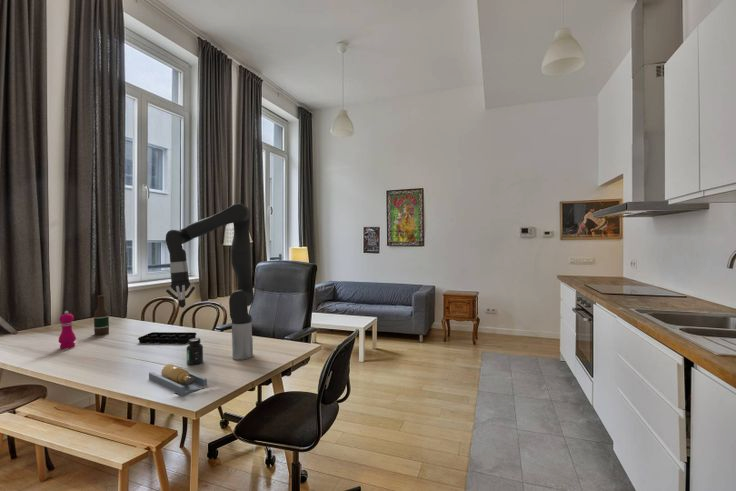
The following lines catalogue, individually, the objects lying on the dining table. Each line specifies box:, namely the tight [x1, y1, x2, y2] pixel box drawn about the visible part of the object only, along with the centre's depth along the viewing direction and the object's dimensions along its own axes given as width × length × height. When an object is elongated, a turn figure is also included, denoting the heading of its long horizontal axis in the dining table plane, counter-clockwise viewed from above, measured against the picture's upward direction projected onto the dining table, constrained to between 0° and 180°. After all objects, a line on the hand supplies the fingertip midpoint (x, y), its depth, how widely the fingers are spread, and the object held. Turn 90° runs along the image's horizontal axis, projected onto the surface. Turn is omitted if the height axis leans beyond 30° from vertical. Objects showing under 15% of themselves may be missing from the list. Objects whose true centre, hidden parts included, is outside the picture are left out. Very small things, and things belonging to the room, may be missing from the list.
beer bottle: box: [93, 294, 110, 336], centre depth 221 cm, size 8×8×24 cm
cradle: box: [148, 370, 208, 398], centre depth 143 cm, size 26×10×4 cm, turn 55°
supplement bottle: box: [186, 337, 204, 367], centre depth 164 cm, size 7×7×12 cm
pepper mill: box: [58, 310, 77, 350], centre depth 194 cm, size 7×7×20 cm
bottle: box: [160, 363, 195, 385], centre depth 142 cm, size 6×6×18 cm
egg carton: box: [137, 331, 197, 345], centre depth 204 cm, size 18×30×4 cm, turn 97°
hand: (182, 307), depth 170 cm, fingers closed
